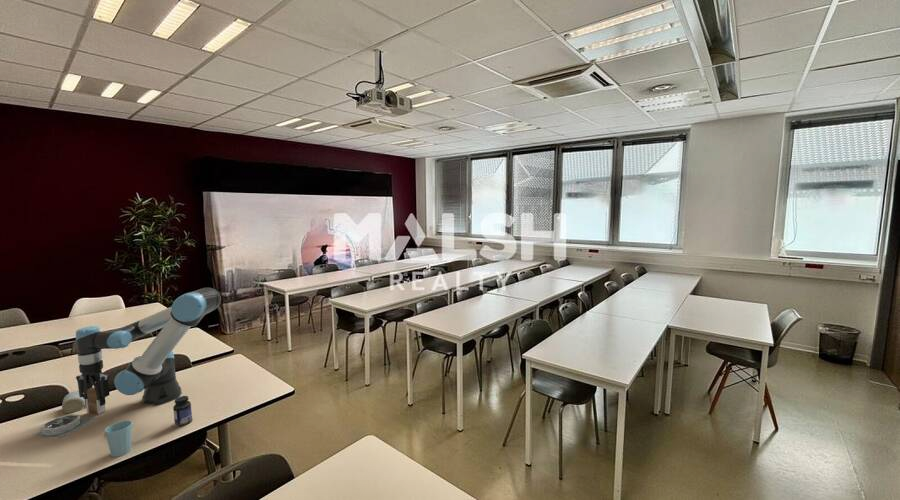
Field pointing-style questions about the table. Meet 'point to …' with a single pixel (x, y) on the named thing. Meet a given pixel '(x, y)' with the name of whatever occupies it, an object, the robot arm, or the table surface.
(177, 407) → the pill bottle
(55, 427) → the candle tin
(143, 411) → the table surface
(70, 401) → the ceramic mug
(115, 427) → the cup
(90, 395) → the brown wooden block
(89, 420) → the slate board
